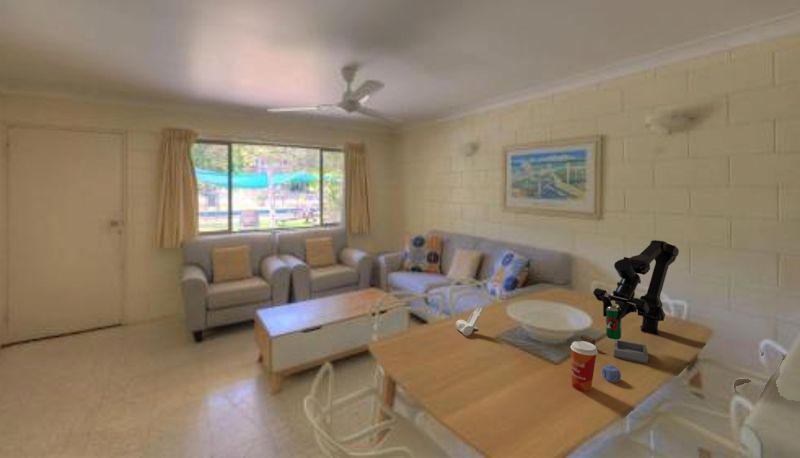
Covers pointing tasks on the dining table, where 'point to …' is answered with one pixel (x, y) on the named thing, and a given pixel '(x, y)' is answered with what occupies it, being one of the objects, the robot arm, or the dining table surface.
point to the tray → (630, 351)
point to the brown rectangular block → (587, 339)
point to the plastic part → (469, 322)
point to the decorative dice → (611, 373)
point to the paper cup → (582, 364)
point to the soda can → (613, 322)
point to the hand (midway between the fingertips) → (610, 318)
